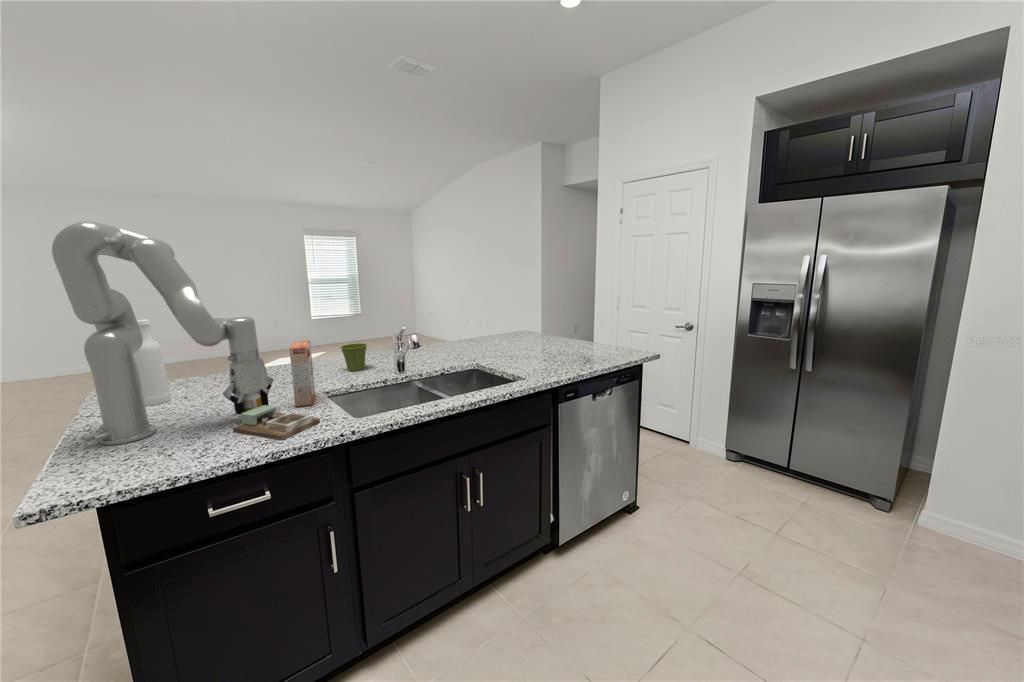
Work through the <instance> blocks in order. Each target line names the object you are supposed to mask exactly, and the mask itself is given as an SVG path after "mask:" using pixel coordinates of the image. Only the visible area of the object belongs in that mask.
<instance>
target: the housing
mask: <svg viewBox="0 0 1024 682" xmlns="http://www.w3.org/2000/svg"><path fill="white" fill-rule="evenodd" d="M277 411H278V410H277V406H273V405H268V406H267V405H263V406H261V407H258V408H255V409H252V410H249V411H247V412H244V413H241V415H240V418H241V425H242V424H248V425H257V419H258V418H261V417H263V416H270V417H273V414H277V413H278V412H277Z"/></svg>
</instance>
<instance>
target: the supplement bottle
mask: <svg viewBox="0 0 1024 682" xmlns="http://www.w3.org/2000/svg"><path fill="white" fill-rule="evenodd" d="M241 402H243V403H244V410H245V412H247V411H249V410H252V409H255V408H258V407H261V406H262V402H261V396H260V394H259V393H257V391H256V392H253V393H250V394H246V395H244V396H243V398H242V401H241Z"/></svg>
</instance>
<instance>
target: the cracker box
mask: <svg viewBox="0 0 1024 682" xmlns="http://www.w3.org/2000/svg"><path fill="white" fill-rule="evenodd" d="M312 355H313V354H312V346H311V340H308V339H307V340H298V341H297V340H296V341H293V342H292V344H291V345H290V346H289V358H290V366H291V375H292V384H293V385H292V386H293V393H294V395H293V396H294V405H295V408H297V407H306V406H307V407H308V406H313V405H314V401H315V396H316V391H315V379H314V367H313V366H314V365H313V356H312Z"/></svg>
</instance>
